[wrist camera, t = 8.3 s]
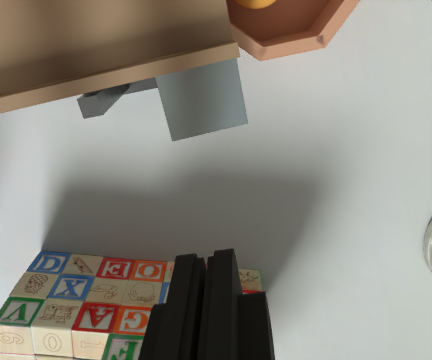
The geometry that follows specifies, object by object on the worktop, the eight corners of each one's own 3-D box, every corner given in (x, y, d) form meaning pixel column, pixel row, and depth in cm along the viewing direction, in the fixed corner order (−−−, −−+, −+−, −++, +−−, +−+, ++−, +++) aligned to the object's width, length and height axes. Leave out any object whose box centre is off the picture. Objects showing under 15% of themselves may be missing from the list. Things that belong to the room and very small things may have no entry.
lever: (202, -94, 23) (211, -115, 19) (240, 113, 28) (254, 132, 24) (-112, -24, 22) (-173, -31, 18) (-13, 174, 27) (-43, 204, 23)
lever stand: (114, -98, 26) (71, -132, 19) (162, 84, 31) (143, 113, 24) (28, -76, 26) (-45, -100, 19) (89, 99, 31) (48, 132, 24)
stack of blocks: (46, 299, 41) (-22, 415, 30) (40, 248, 38) (-37, 355, 27) (253, 317, 41) (263, 438, 30) (262, 268, 38) (276, 381, 27)
